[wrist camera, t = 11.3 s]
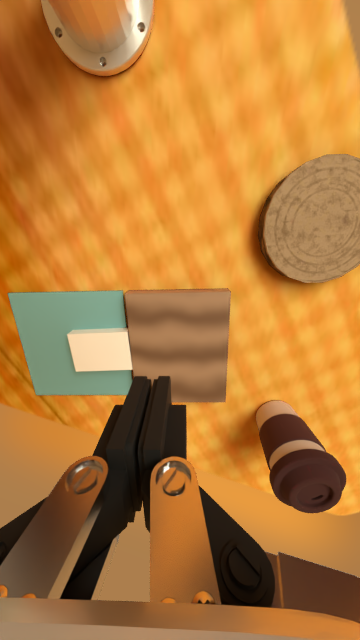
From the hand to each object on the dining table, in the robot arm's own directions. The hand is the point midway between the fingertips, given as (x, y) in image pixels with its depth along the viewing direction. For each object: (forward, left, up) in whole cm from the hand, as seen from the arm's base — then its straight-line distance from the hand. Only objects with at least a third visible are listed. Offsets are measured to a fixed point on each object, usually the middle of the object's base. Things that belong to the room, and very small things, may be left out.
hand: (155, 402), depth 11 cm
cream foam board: (+10, -13, -27) cm, 31 cm away
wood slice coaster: (-9, +20, -28) cm, 35 cm away
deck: (+10, 0, -27) cm, 29 cm away
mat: (+10, -18, -27) cm, 34 cm away
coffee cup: (+25, +18, -27) cm, 41 cm away
